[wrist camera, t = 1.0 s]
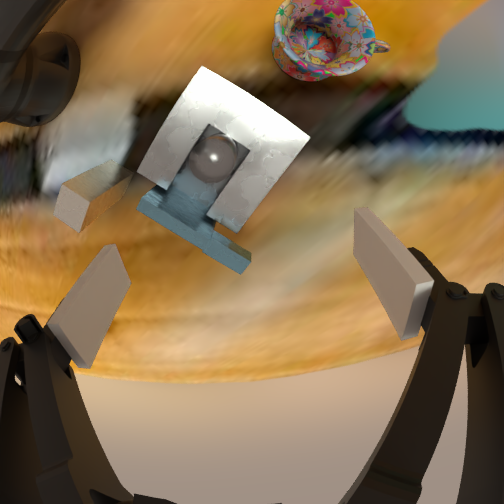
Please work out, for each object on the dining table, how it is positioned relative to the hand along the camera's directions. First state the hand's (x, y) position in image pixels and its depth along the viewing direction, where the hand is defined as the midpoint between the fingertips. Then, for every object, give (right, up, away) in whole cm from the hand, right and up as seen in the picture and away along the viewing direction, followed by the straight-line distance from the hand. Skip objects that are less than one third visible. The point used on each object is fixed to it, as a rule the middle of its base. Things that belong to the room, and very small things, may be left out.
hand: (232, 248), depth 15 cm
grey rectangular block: (-18, +10, +20) cm, 29 cm away
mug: (+9, +24, +13) cm, 29 cm away
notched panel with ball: (-2, +11, +19) cm, 23 cm away
